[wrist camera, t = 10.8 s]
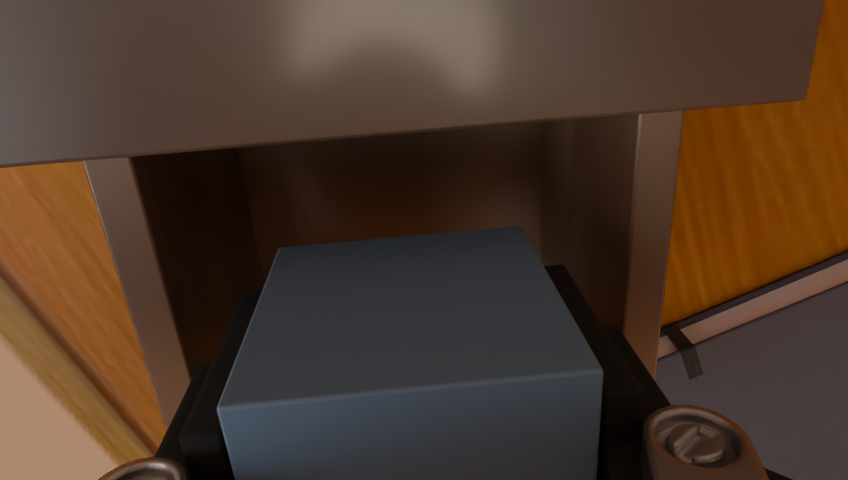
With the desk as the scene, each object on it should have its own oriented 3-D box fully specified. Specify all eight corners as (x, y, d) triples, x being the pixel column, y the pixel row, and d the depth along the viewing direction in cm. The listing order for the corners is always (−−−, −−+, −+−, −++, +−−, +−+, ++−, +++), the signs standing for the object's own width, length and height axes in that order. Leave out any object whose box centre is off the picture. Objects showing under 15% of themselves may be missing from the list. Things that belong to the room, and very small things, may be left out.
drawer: (569, 448, 23) (656, 661, 16) (271, 478, 22) (219, 712, 15) (589, -85, 15) (769, -143, 8) (149, -53, 15) (-59, -85, 8)
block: (313, 437, 13) (280, 657, 9) (278, 246, 11) (213, 408, 7) (522, 416, 13) (588, 624, 9) (521, 224, 11) (605, 370, 7)
